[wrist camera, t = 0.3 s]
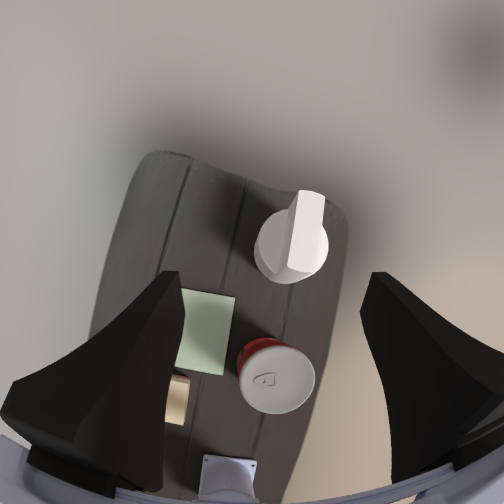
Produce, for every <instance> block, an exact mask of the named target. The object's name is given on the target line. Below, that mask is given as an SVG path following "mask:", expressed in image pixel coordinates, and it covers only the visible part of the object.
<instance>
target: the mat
mask: <svg viewBox="0 0 504 504" xmlns="http://www.w3.org/2000/svg"><path fill="white" fill-rule="evenodd" d="M181 289H182V295H183V301H184V306H185V312H186V314H185V321H184V328H183V335H182V340H181V343H180V347H179V351H178V355H177V359H176V362H175V366H176V367H181V368H186V369H191V370H196V371H201V372H207V373H212V374H218V375H223V370H224V364H225V358H226V351H227V345H228V339H229V332H230V326H231V320H232V314H233V308H234V301H235V298H233V297H227V296H222V295H216V294H210V293H205V292H199V291H194V290H188V289H183V288H181Z"/></svg>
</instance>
